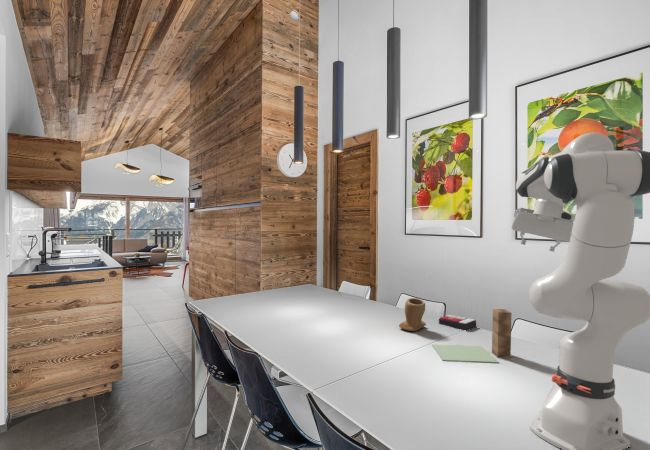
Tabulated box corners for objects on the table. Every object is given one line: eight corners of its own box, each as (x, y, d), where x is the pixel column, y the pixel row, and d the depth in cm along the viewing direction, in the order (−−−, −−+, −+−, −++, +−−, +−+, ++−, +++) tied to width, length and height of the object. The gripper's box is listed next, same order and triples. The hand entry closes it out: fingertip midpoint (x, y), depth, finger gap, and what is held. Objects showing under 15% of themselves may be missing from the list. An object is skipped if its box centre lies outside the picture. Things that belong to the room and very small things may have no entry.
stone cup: (417, 335, 156) (417, 303, 155) (395, 329, 164) (396, 299, 164) (432, 328, 166) (433, 298, 166) (411, 322, 175) (412, 294, 175)
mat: (481, 347, 142) (481, 346, 142) (498, 363, 126) (498, 362, 126) (431, 345, 143) (431, 344, 143) (442, 360, 127) (442, 359, 127)
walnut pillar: (504, 352, 136) (505, 309, 136) (510, 357, 131) (511, 312, 131) (491, 352, 136) (492, 308, 136) (497, 357, 131) (498, 312, 131)
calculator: (449, 313, 181) (476, 318, 170) (449, 321, 181) (476, 327, 170) (438, 317, 174) (466, 322, 163) (438, 325, 174) (466, 331, 162)
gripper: (515, 205, 127) (506, 240, 128) (580, 217, 116) (569, 255, 117) (516, 207, 132) (507, 240, 134) (579, 219, 121) (568, 255, 122)
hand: (536, 247), depth 125 cm, fingers open, 8 cm apart
